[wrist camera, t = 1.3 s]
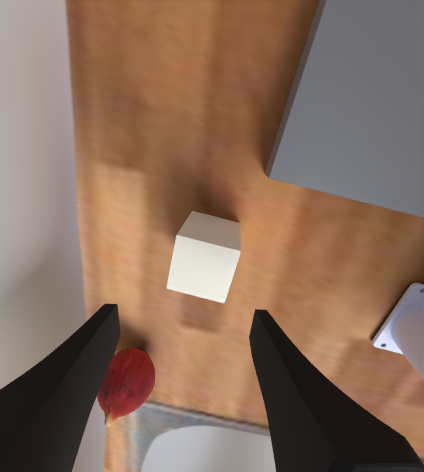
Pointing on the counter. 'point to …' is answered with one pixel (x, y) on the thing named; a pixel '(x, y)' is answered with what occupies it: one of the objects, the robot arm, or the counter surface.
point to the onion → (126, 384)
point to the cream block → (205, 256)
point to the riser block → (358, 106)
